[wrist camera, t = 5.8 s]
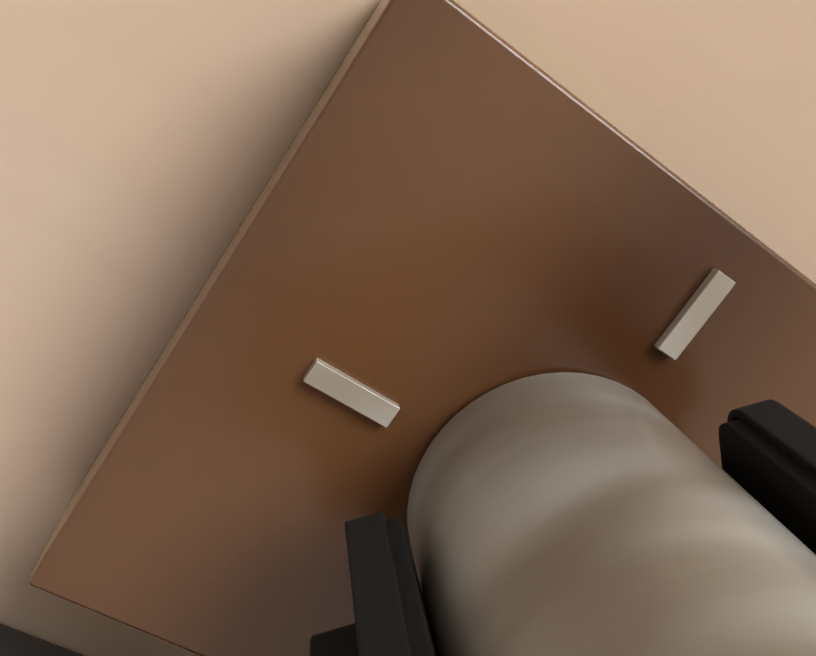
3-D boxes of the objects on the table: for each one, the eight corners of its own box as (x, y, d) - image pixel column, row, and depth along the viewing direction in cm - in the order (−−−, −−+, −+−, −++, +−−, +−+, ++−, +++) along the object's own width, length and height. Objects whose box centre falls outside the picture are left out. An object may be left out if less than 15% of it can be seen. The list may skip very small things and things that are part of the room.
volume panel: (888, 371, 15) (1008, 431, 12) (583, 729, 17) (634, 844, 14) (387, -11, 11) (413, -36, 9) (73, 495, 13) (20, 592, 11)
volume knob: (666, 337, 11) (1101, 640, 5) (692, 578, 12) (1052, 1031, 7) (376, 414, 11) (475, 832, 5) (438, 650, 12) (573, 1193, 6)
